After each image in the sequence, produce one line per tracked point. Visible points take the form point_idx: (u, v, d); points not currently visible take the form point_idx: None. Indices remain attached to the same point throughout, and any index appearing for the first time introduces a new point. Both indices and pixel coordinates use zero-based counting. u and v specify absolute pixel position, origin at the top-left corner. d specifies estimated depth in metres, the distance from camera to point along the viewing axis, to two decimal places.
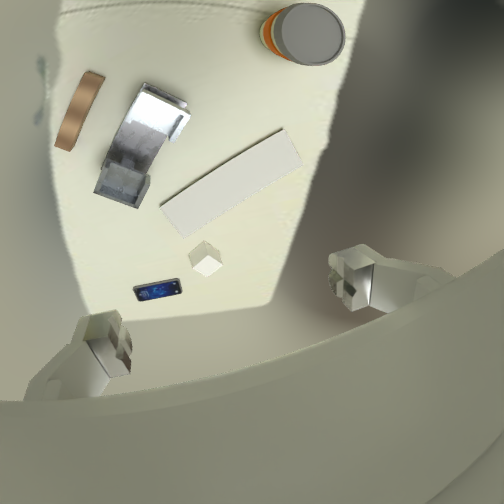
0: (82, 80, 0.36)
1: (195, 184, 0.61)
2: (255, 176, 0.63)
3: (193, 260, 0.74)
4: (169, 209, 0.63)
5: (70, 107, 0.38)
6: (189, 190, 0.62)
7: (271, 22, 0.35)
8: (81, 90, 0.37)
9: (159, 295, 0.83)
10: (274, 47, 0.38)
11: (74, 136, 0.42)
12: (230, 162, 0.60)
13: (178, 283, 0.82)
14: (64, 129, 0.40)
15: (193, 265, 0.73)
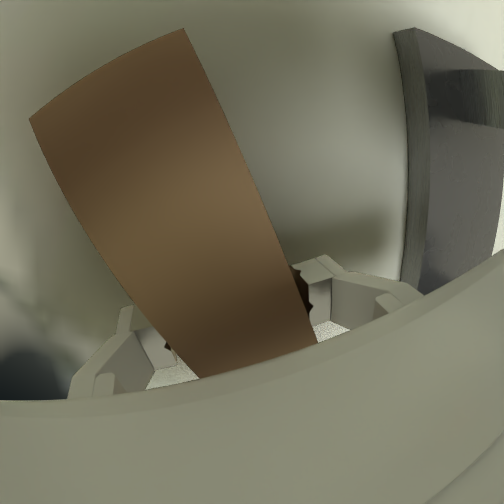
0: (62, 164, 0.05)
1: None
2: None
3: None
4: None
5: (184, 343, 0.07)
6: None
7: None
8: (128, 217, 0.06)
9: None
10: None
11: None
12: None
13: None
14: None
15: None
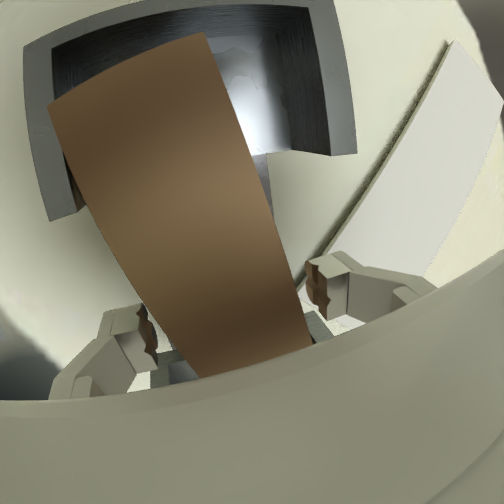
0: (76, 153, 0.05)
1: (370, 197, 0.21)
2: (466, 140, 0.20)
3: None
4: None
5: (183, 337, 0.08)
6: (361, 219, 0.21)
7: None
8: (138, 209, 0.06)
9: None
10: None
11: None
12: (419, 118, 0.19)
13: None
14: None
15: None
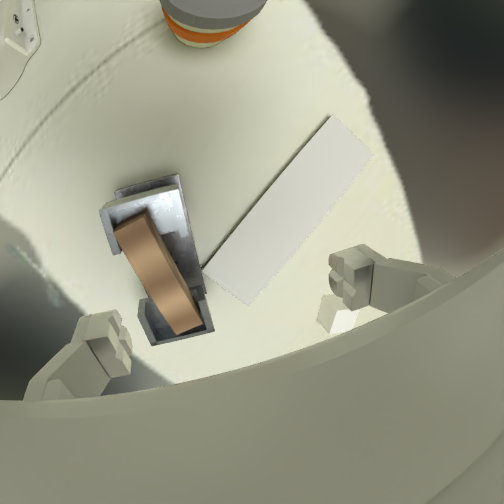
0: (121, 243, 0.29)
1: (242, 224, 0.44)
2: (320, 188, 0.43)
3: (325, 324, 0.55)
4: (216, 269, 0.45)
5: (145, 283, 0.31)
6: (236, 235, 0.44)
7: (166, 15, 0.22)
8: (135, 254, 0.29)
9: None
10: (199, 34, 0.24)
11: (189, 305, 0.34)
12: (280, 179, 0.42)
13: None
14: (168, 310, 0.33)
15: (328, 330, 0.54)
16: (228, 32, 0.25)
